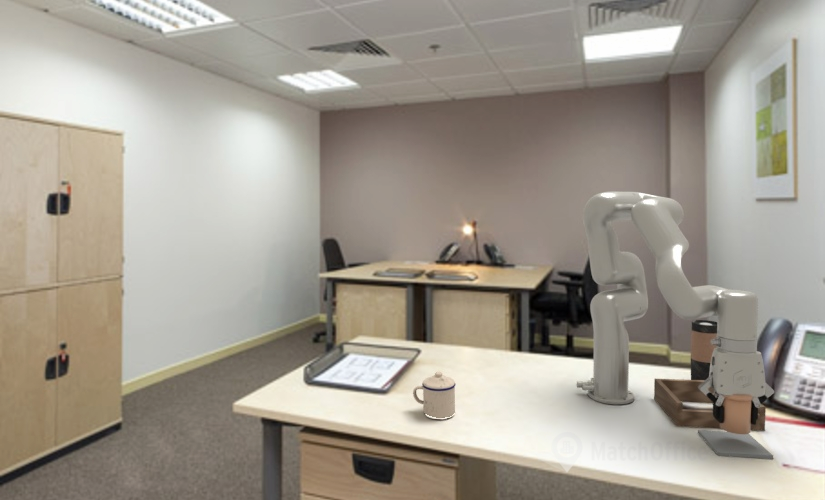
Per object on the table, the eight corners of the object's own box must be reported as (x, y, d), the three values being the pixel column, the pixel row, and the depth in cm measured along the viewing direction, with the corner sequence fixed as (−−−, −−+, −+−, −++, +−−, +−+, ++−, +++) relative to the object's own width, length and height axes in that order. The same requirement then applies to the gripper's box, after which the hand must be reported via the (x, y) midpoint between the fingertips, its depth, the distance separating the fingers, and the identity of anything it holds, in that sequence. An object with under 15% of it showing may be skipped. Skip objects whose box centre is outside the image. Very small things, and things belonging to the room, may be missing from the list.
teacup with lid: (459, 409, 134) (458, 368, 134) (451, 423, 126) (450, 379, 125) (419, 404, 138) (418, 365, 138) (408, 417, 130) (407, 375, 129)
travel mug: (723, 391, 143) (725, 325, 142) (695, 390, 145) (696, 325, 143) (712, 382, 151) (714, 320, 149) (686, 381, 152) (687, 319, 151)
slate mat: (718, 455, 106) (718, 452, 106) (697, 433, 117) (697, 429, 117) (773, 459, 105) (773, 455, 104) (747, 435, 115) (747, 432, 115)
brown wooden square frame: (677, 426, 121) (677, 403, 121) (654, 398, 139) (654, 378, 139) (764, 430, 118) (765, 406, 117) (729, 401, 136) (730, 381, 135)
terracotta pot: (725, 434, 108) (726, 395, 107) (712, 421, 114) (712, 384, 114) (758, 436, 106) (760, 396, 106) (743, 422, 113) (744, 385, 113)
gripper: (702, 348, 107) (700, 426, 108) (788, 350, 104) (786, 430, 105) (688, 339, 114) (687, 413, 116) (769, 341, 111) (767, 416, 112)
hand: (734, 420), depth 110 cm, fingers closed on terracotta pot, 6 cm apart
